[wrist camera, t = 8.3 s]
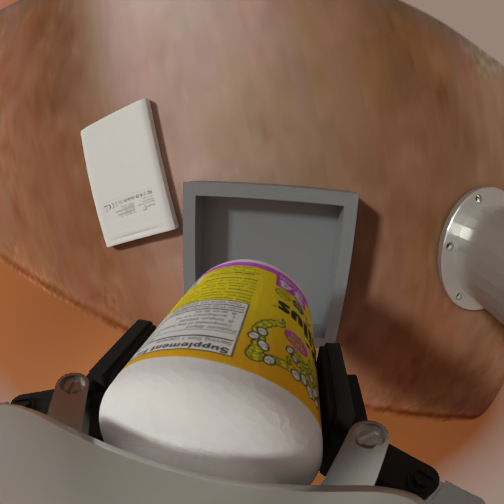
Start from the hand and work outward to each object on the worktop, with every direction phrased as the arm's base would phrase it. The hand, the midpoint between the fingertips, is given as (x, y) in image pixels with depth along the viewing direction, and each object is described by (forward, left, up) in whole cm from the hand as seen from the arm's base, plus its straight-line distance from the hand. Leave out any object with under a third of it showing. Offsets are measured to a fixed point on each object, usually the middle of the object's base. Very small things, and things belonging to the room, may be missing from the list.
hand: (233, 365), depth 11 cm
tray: (0, 0, -14) cm, 14 cm away
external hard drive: (+14, -7, -15) cm, 22 cm away
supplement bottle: (0, 0, -5) cm, 5 cm away
